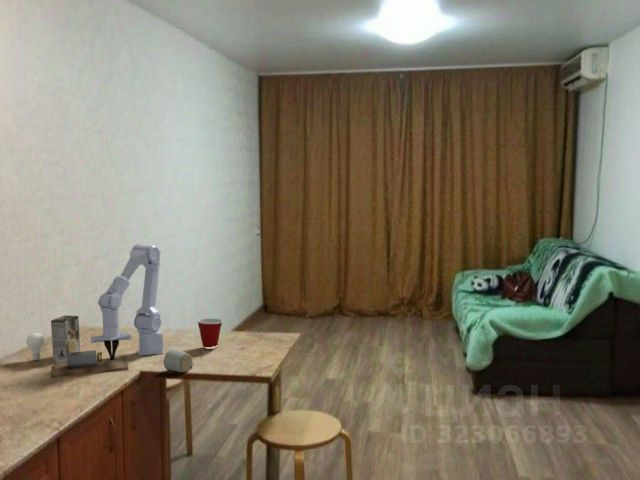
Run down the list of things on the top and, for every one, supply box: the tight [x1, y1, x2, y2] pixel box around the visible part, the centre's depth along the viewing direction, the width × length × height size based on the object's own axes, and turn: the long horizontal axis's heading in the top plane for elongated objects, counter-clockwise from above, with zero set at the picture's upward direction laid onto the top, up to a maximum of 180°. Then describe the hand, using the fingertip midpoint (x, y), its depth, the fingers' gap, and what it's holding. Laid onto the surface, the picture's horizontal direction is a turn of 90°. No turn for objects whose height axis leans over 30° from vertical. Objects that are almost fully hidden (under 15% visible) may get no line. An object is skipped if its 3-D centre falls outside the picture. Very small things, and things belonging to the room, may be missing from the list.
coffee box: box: [50, 315, 81, 361], centre depth 246 cm, size 9×6×16 cm
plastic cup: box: [196, 318, 224, 347], centre depth 260 cm, size 11×11×12 cm
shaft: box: [55, 351, 103, 364], centre depth 232 cm, size 16×4×4 cm, turn 110°
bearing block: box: [67, 350, 97, 370], centre depth 232 cm, size 10×6×5 cm, turn 110°
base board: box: [52, 356, 129, 378], centre depth 234 cm, size 26×14×1 cm, turn 110°
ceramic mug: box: [163, 348, 194, 373], centre depth 232 cm, size 11×8×8 cm
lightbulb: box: [25, 332, 45, 361], centre depth 242 cm, size 6×6×11 cm
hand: (112, 359), depth 236 cm, fingers closed
